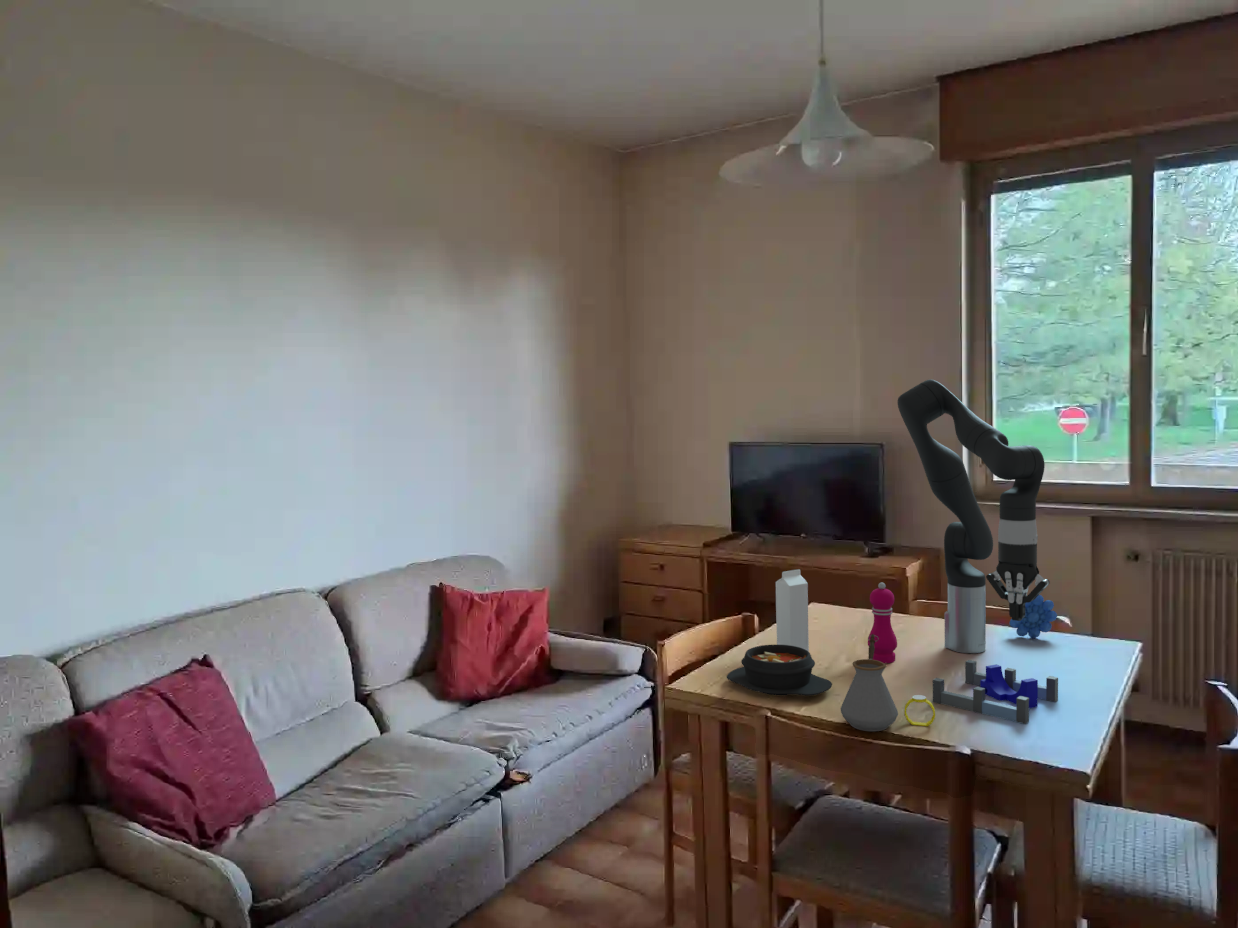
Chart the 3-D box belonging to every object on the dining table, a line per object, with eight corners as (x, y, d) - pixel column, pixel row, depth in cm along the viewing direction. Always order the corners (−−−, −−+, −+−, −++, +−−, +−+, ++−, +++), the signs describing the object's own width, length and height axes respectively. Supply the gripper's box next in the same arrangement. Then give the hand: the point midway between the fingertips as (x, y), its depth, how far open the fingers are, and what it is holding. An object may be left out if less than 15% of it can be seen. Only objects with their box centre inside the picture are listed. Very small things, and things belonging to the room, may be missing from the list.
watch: (905, 727, 181) (902, 699, 181) (905, 722, 184) (903, 694, 183) (936, 727, 179) (933, 699, 179) (935, 723, 182) (933, 694, 181)
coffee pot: (897, 737, 175) (896, 664, 174) (837, 731, 179) (836, 659, 178) (900, 700, 195) (900, 634, 194) (847, 696, 199) (846, 631, 198)
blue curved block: (980, 692, 199) (980, 666, 198) (996, 689, 200) (996, 664, 200) (1020, 710, 188) (1021, 683, 187) (1037, 707, 189) (1037, 680, 189)
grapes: (1055, 635, 241) (1055, 591, 240) (1057, 642, 234) (1058, 597, 233) (1008, 632, 245) (1008, 589, 244) (1009, 638, 238) (1010, 595, 237)
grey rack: (932, 701, 194) (932, 679, 194) (968, 680, 207) (968, 659, 206) (1025, 723, 180) (1025, 700, 179) (1057, 699, 193) (1058, 677, 192)
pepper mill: (863, 656, 228) (862, 580, 226) (890, 654, 228) (890, 578, 227) (874, 664, 221) (873, 586, 219) (902, 663, 221) (901, 584, 219)
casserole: (844, 685, 206) (844, 650, 206) (811, 710, 191) (810, 672, 191) (749, 668, 221) (749, 635, 221) (711, 690, 206) (710, 655, 206)
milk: (776, 651, 234) (774, 569, 233) (795, 647, 237) (793, 567, 235) (790, 657, 229) (788, 573, 227) (809, 653, 232) (807, 570, 230)
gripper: (979, 539, 189) (979, 618, 191) (1043, 545, 180) (1043, 628, 181) (993, 534, 194) (993, 611, 196) (1056, 540, 185) (1056, 621, 186)
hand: (1017, 619), depth 189 cm, fingers closed
